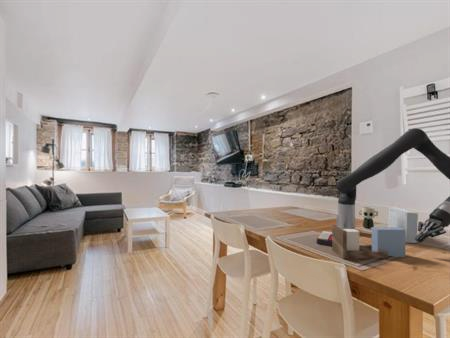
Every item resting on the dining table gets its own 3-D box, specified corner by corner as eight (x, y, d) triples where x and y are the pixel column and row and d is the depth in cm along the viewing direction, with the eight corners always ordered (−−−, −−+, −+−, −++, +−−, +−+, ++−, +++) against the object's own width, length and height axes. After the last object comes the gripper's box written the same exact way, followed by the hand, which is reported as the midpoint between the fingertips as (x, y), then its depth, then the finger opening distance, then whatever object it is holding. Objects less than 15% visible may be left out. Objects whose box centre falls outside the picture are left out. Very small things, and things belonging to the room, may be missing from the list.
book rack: (374, 250, 113) (374, 225, 113) (389, 259, 102) (389, 231, 102) (332, 250, 113) (332, 225, 113) (343, 259, 102) (343, 231, 102)
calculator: (316, 237, 123) (322, 229, 135) (316, 245, 123) (322, 237, 136) (339, 241, 117) (343, 232, 130) (340, 249, 117) (343, 240, 130)
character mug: (358, 227, 156) (358, 208, 156) (358, 225, 162) (358, 206, 162) (378, 229, 151) (378, 209, 151) (377, 227, 157) (377, 207, 157)
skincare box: (418, 243, 123) (418, 213, 123) (406, 243, 124) (406, 212, 124) (397, 233, 144) (397, 206, 144) (387, 232, 145) (387, 206, 145)
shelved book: (354, 252, 110) (354, 229, 110) (359, 256, 105) (359, 231, 105) (339, 252, 110) (339, 228, 110) (343, 256, 105) (343, 231, 105)
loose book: (398, 253, 109) (398, 227, 109) (405, 257, 105) (405, 229, 105) (371, 253, 110) (371, 227, 110) (377, 256, 105) (377, 229, 105)
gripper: (427, 205, 113) (400, 231, 114) (453, 210, 100) (423, 239, 100) (438, 216, 113) (412, 242, 113) (465, 223, 100) (436, 251, 100)
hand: (417, 240), depth 107 cm, fingers closed
